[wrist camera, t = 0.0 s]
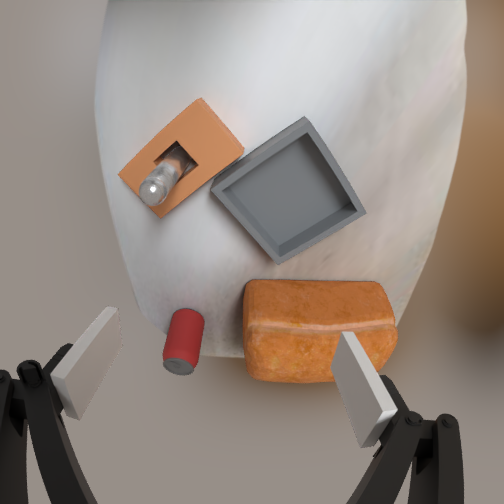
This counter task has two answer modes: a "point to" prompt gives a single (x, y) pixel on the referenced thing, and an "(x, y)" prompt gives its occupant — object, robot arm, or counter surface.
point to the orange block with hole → (198, 147)
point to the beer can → (183, 342)
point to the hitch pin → (164, 177)
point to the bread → (312, 326)
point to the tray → (289, 192)
